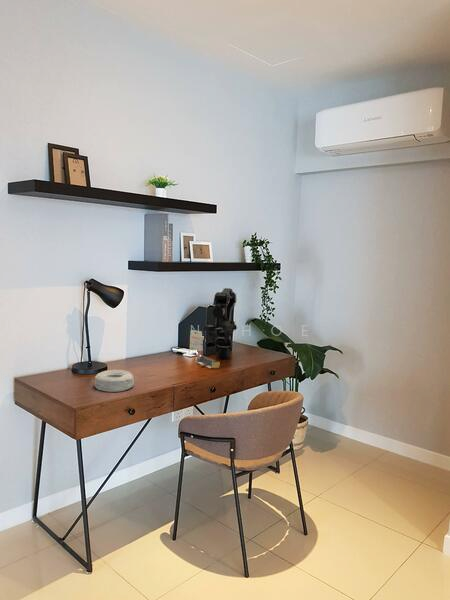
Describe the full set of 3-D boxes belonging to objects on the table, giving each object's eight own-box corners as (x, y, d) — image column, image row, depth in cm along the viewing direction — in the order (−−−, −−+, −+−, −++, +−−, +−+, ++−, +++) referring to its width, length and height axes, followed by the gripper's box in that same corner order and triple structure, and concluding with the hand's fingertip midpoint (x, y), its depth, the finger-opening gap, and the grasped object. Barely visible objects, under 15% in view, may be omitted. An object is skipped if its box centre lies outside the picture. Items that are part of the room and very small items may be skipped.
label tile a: (207, 362, 270) (207, 361, 270) (211, 364, 267) (211, 363, 267) (198, 363, 267) (198, 362, 267) (202, 365, 264) (202, 364, 264)
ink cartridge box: (205, 354, 290) (206, 330, 288) (201, 355, 286) (202, 331, 284) (193, 352, 294) (194, 328, 292) (189, 353, 290) (189, 329, 288)
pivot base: (201, 360, 275) (201, 359, 275) (207, 362, 270) (207, 361, 270) (192, 361, 272) (192, 360, 272) (198, 363, 267) (198, 363, 267)
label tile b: (214, 365, 265) (214, 364, 265) (218, 366, 262) (219, 366, 262) (205, 366, 261) (205, 365, 261) (209, 368, 258) (209, 367, 258)
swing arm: (195, 360, 271) (196, 354, 271) (201, 360, 273) (201, 354, 273) (214, 368, 257) (214, 361, 256) (219, 367, 259) (220, 361, 258)
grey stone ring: (120, 379, 230) (120, 367, 229) (142, 388, 218) (142, 375, 217) (87, 386, 217) (87, 373, 217) (108, 395, 205) (108, 381, 205)
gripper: (215, 318, 253) (214, 347, 255) (243, 316, 264) (242, 344, 266) (203, 315, 262) (202, 343, 264) (231, 313, 273) (230, 340, 275)
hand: (219, 342), depth 267 cm, fingers open, 8 cm apart
